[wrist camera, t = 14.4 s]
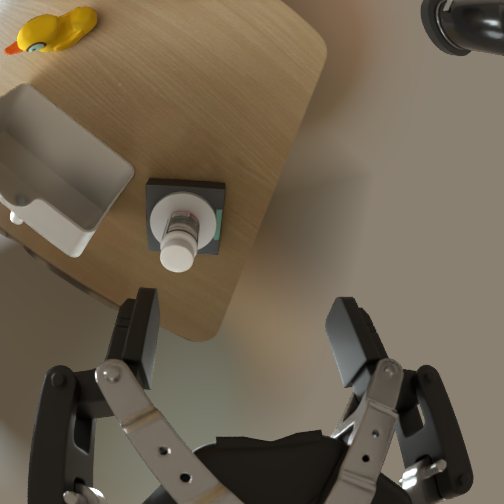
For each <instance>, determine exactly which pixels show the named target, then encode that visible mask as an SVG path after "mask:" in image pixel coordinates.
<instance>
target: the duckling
mask: <svg viewBox="0 0 504 504" xmlns="http://www.w3.org/2000/svg"><path fill="white" fill-rule="evenodd" d="M96 23H97V14H96V12H95V10H93V9H92V8H89V7H77V8H75V9H74V10H72V11H71V12H69V13H67V14H65V15H62V16H59V17H57V16H54V15H49V14H47V15H41V16H38V17H35V18H33V19H31V20H30V21H28V22H27V23H26V24H25V25H24V26H23V27H22V29H21V30H20V32H19V34H18V37H17V41H16V42H15V43H13V44H12V45H10V46H9V47H7V48H6V49H5V54H7V55H12V54H17V53H20V52H22V51H26V52H33V51H37V50H39V51H42V52H50V51H54V50H55V51H57V52H59V51H63V50H65V49H67V48H69V47H71V46H73V45H74V44H76V43H77V42H78V41H79V40H80V39H81V38H82V37H83V36H84V35H85V34H87V33H88V32H89V31H91V30H92V29H93V28H94V27H95V25H96Z"/></svg>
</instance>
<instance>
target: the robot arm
mask: <svg viewBox="0 0 504 504" xmlns="http://www.w3.org/2000/svg"><path fill="white" fill-rule="evenodd" d="M434 19H435V23H436V26H437V28H438V31H439V32H440V34H441V36H442V37H443V39H444V40H445V41H446V42H447V43H448V44H449V45H451V46H452V47H454V48H456V49H463V50H465V49H467V50H472V51H479V52H485V53H491V54H496V55H502V56H504V0H441V1H439V2H438V3H437V4H436V5H435V8H434ZM159 325H160V310H159V301H158V292H157V289H154V288H142V287H140V288H139V290H138V294H137V298H136V299H127V300H126V301H125V302H124V303H123V304H122V305H121V307H120V309H119V313H118V316H117V319H116V323H115V327H114V330H113V333H112V337H111V341H110V344H109V348H108V352H107V356H106V359H105V360H104V361H103V362H102V363H100V365H99V366H98V367H97V368H95V369H92V370H88V371H80V372H72V370H71V369H70V368H68V367H66V366H63V365H58V366H54V367H52V368H51V369H50V370H49V371H48V372H47V373H46V375H45V377H44V381H43V385H42V390H41V394H40V398H39V403H38V408H37V413H36V419H35V424H34V431H33V437H32V445H31V453H30V463H29V476H28V504H108V502H107V500H106V498H105V497H104V495H103V494H102V493H101V492H99V491H98V490H96V489H93V461H94V442H95V429H96V419H97V418H102V417H109V416H116V418H117V420H118V422H119V423H120V425H121V427H122V429H123V431H124V432H125V434H126V436H127V437H128V439H129V440H130V442H131V443H132V445H133V446H134V448H135V449H136V451H137V452H138V454H139V455H140V457H141V458H142V459H143V461H144V462H145V464H146V465H147V466H148V468H149V469H150V470H151V471H152V473H153V474H154V475H155V477H156V478H157V479H158V481H159V482H160V483H161V485H160V486H159V487H158V488H157V489H156V490H155V491H154V492H153V493H152V494H151V495H150V496H149V498H147V499H146V500H145V501H144V502H143V503H142V504H436V503H439V502H443V501H445V500H448V499H451V498H454V497H457V496H460V495H462V494H465V493H466V492H468V491H469V490H470V488H471V486H472V484H473V472H472V468H471V464H470V461H469V457H468V454H467V450H466V447H465V443H464V440H463V437H462V434H461V431H460V428H459V425H458V422H457V419H456V416H455V414H454V411H453V408H452V406H451V403H450V400H449V397H448V395H447V392H446V390H445V387H444V385H443V382H442V380H441V378H440V375H439V373H438V372H437V370H436V369H435V368H433V367H432V366H430V365H423V366H421V367H420V368H419V369H418V370H417V371H412V370H406V369H402V367H401V365H400V364H399V363H398V362H396V361H395V360H393V359H390V358H388V356H387V353H386V351H385V349H384V347H383V344H382V342H381V340H380V338H379V335H378V333H376V329H375V327H374V326H373V323H372V320H371V319H370V316H369V315H368V314H367V313H366V312H365V311H364V310H363V308H359V307H358V305H357V303H356V301H355V299H354V298H353V297H337V298H336V299H335V302H334V304H333V306H332V308H331V310H330V312H329V314H328V316H327V319H326V324H325V328H326V332H327V335H328V338H329V342H330V345H331V347H332V351H333V353H334V357H335V360H336V363H337V366H338V369H339V373H340V376H341V379H342V382H343V386H344V388H348V387H353V389H354V392H353V393H352V395H351V397H350V399H349V402H348V404H347V406H346V408H345V411H344V413H343V415H342V417H341V419H340V422H339V424H338V425H337V427H336V428H335V430H334V431H333V432H332V434H331V435H330V437H329V436H324V435H322V432H321V430H315V431H308V432H301V433H295V434H293V435H290V436H287V437H284V438H281V439H278V440H275V441H264V440H258V439H253V438H248V437H216V440H215V442H213V443H208V444H206V445H203V446H201V447H199V448H197V449H195V450H194V451H191V450H190V449H189V448H188V446H187V445H186V444H185V442H184V441H183V440H182V439H181V438H180V436H179V435H178V434H177V433H176V431H175V430H174V429H173V427H172V426H171V425H170V423H169V422H168V421H167V420H166V418H165V417H164V416H163V414H162V413H161V412H160V411H159V410H158V409H157V408H156V407H155V406H154V405H153V403H152V402H151V401H150V399H149V398H148V396H147V395H146V393H145V392H144V389H147V390H151V381H152V374H153V366H154V359H155V352H156V345H157V338H158V332H159ZM418 404H420V406H421V409H422V413H423V416H424V419H425V425H424V426H423V423H422V420H421V416H420V414H419V411H418V407H417V405H418ZM395 430H396V434H397V438H398V441H399V445H400V449H401V453H402V457H403V462H404V466H405V471H404V473H403V477H402V478H401V479H400V485H401V486H402V487H400V486H399V485H397V484H396V483H395V482H393V481H392V480H390V479H389V478H388V477H386V476H385V475H384V474H382V473H381V472H380V471H381V468H382V466H383V463H384V461H385V458H386V455H387V452H388V449H389V446H390V444H391V440H392V437H393V434H394V431H395Z"/></svg>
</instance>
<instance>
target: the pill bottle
mask: <svg viewBox="0 0 504 504" xmlns="http://www.w3.org/2000/svg"><path fill="white" fill-rule="evenodd" d="M199 229H200V223H199V220H198V218H197V217H196V216H195V215H194V214H193V213H192V212H190V211H187V210H179V211H176V212H174V213H172V214H171V215H170V216H169V218H168V220H167V223H166V226H165V230H164V233H163V237H162V240H161V244H160V248H161V254H160V260H161V263H162V264H163V266H164V267H165V268H167V269H168V270H170V271H173V272H183V271H186V270H188V269H189V268H190V267H191V266H192V264H193V260H194V257H195V256H196V254H197V249H198V239H199Z"/></svg>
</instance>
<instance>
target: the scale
mask: <svg viewBox="0 0 504 504" xmlns="http://www.w3.org/2000/svg"><path fill="white" fill-rule="evenodd" d="M224 198H225V183H217V182H204V181H189V180H173V179H152V178H150V179H149V180H148V182H147V184H146V217H147V238H148V250H149V251H161V248H160V244H161V240H162V237H163V233H164V230H165V226H166V223H167V220H168V218H169V216H170V215H171V214H172V213H174V212H176V211H179V210H187V211H190V212H192V213H193V214H194V215H195V216H196V217H197V218H198V220H199V223H200V229H199V239H198V249H197V254H208V255H218V251H219V241H220V232H221V223H222V214H223V206H224Z"/></svg>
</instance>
